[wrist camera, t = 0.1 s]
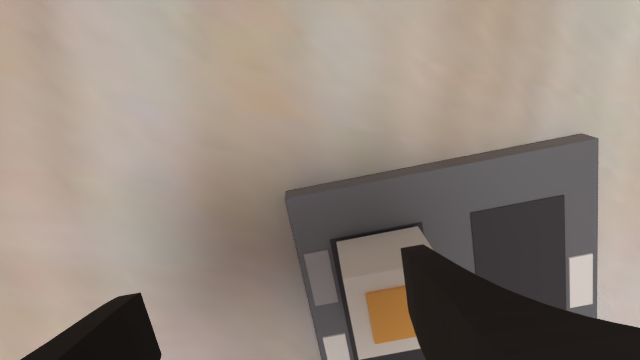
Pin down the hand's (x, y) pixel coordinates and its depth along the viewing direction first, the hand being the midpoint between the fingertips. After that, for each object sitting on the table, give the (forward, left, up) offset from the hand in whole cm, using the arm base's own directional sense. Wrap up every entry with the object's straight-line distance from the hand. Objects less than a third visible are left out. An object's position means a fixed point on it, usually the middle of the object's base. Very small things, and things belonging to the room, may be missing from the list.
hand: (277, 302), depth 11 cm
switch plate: (-9, -7, -10) cm, 15 cm away
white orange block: (-5, -4, -8) cm, 10 cm away
